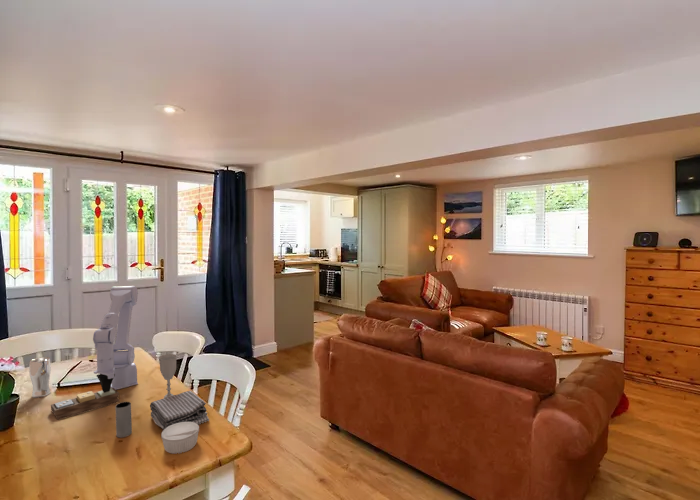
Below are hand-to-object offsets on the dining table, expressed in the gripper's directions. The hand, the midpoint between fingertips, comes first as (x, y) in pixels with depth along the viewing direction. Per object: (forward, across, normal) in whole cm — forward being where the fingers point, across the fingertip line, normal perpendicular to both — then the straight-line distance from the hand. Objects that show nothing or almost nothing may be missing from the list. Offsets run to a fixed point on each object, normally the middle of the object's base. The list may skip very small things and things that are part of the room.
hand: (106, 391), depth 157 cm
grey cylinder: (+4, +34, -4) cm, 34 cm away
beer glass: (+4, -26, -17) cm, 31 cm away
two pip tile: (+1, 0, -7) cm, 7 cm away
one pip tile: (+2, 0, 0) cm, 2 cm away
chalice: (+4, +19, +17) cm, 26 cm away
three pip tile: (+2, 0, -14) cm, 14 cm away
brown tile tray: (+4, 0, -7) cm, 8 cm away
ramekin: (+4, +55, +6) cm, 55 cm away
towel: (+4, +38, +13) cm, 40 cm away
